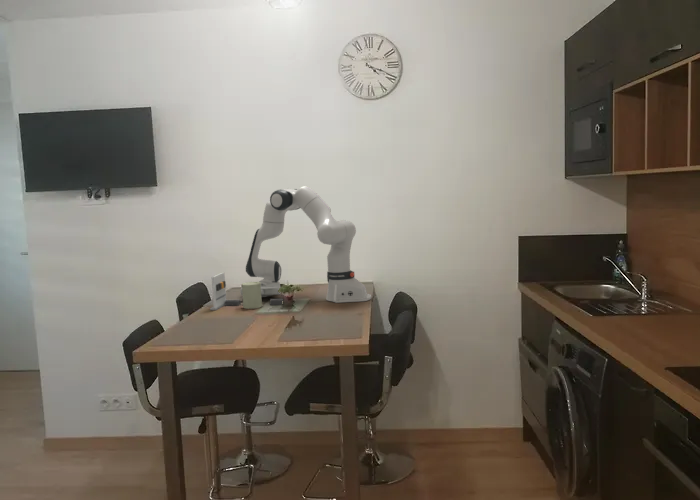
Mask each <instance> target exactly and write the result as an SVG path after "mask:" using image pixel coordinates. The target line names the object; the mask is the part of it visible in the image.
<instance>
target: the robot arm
mask: <svg viewBox="0 0 700 500" xmlns="http://www.w3.org/2000/svg"><path fill="white" fill-rule="evenodd" d="M265 204H266V205H265V207H264V211H263V217H262V224H261V226H260V228H258V229H257V230H256V231H255V233H254V236H253V240H252V244H251V247H250V251H249V255H248V259H247V261H246V265H245V272H246V274H247V275H248V276H249V277H251V278H262V279H261V280H259V281H258V282H260V283H261V298H267V297H270V296H275V295H276V296H279V295H281V292H280V293H279V292H278V290H279V288H281V283H280V279H281V276H282V267H281V264H280V263H279V262H278V261H277V260H271V259H262V258H259V252H260V249H261V246H262V243H263V242H265V241H268V240H271V239H274V238H275V239H276V238H277V237H279V236H280V235H282V233H283V232H284V226H285V218H286V217H285V216H286V213H287V212H288V211H290V212H291V211H296V210H299V209H301V211H303V213H304V214H306V216H307V217H308V218H309V219H310V220H311V222H312V223H313V224H314V226H315V229H316V230H317V233H316V235H317V238H318V240H319V242H320V243H322V244H324V245H330V250H329V252H328V254H327V256H326V257H327V258H326V259H327V271H326V272H327V273H326V276H327V277H326V279H327V280H326V281H327V293H326V301H328V302H333V303H335V304H338V303H354V302H355V303H356V302H367V301H370V300H371V299H372V295H371V294H370V293H368V292H367V288H366V285H365V284H364V283H362V282H361V281H360V280H358V279H357V278H356V277H355V271H353V270H351V259H350V258H351V249H352V248H351V247H352V244H353V240H354V237H355V235H356V232H357V229H356V226H355V224H354V223H353V222H352V221H350V220H346V219H345V220H344V219H343V220H341V219H340V220H336V219H335V218H334V217H333V215H332V212H331V211H332V210H331V208H330V206H329V205H328V204H327V203H326V201H324V199H322V198H321V196H320V195H319V194H318V193H317V192H316V191H315V190H314V189H312V188H311V187H310V186H307V185H302V186H301V187H300V186H299V187H298V188H281V189H276V190H274V191H273V192H272V193H271V194H270V197H269V200H268V201H267V202H266V203H265ZM239 291H240V295H241V296H243V292H242V287H241V288H240V290H239Z"/></svg>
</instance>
